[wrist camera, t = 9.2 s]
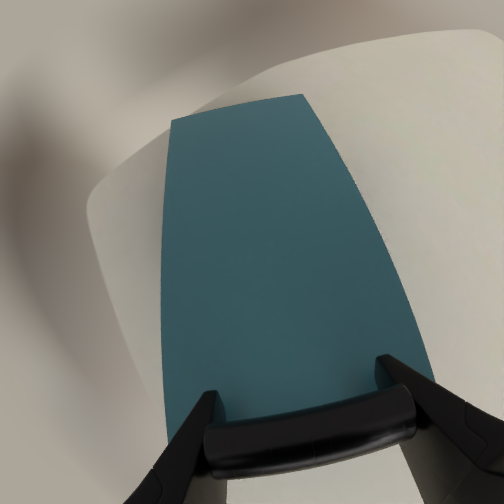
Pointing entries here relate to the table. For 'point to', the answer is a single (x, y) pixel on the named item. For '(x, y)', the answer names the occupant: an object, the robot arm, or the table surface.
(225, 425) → the lid
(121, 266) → the table surface
